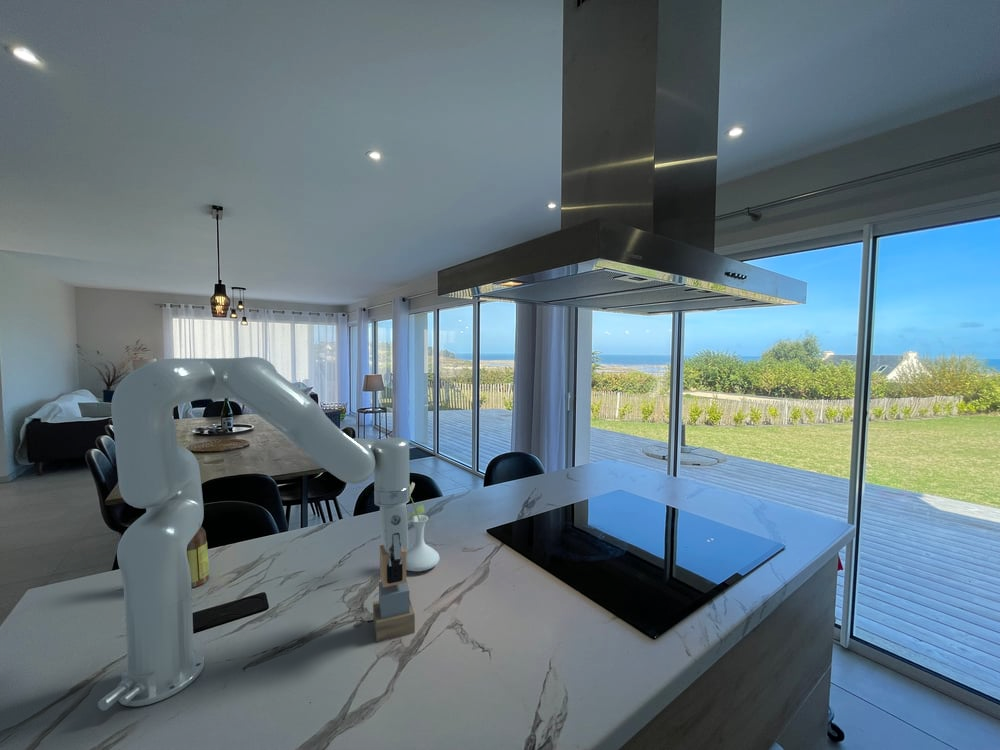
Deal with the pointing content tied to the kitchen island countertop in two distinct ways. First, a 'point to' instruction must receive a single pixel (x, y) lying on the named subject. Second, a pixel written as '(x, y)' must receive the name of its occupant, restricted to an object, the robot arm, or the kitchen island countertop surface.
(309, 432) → the robot arm
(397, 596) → the slate-grey cube
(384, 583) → the peach rectangular block
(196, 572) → the sauce bottle
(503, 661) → the kitchen island countertop surface
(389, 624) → the light brown wooden plinth
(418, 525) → the flower in vase
